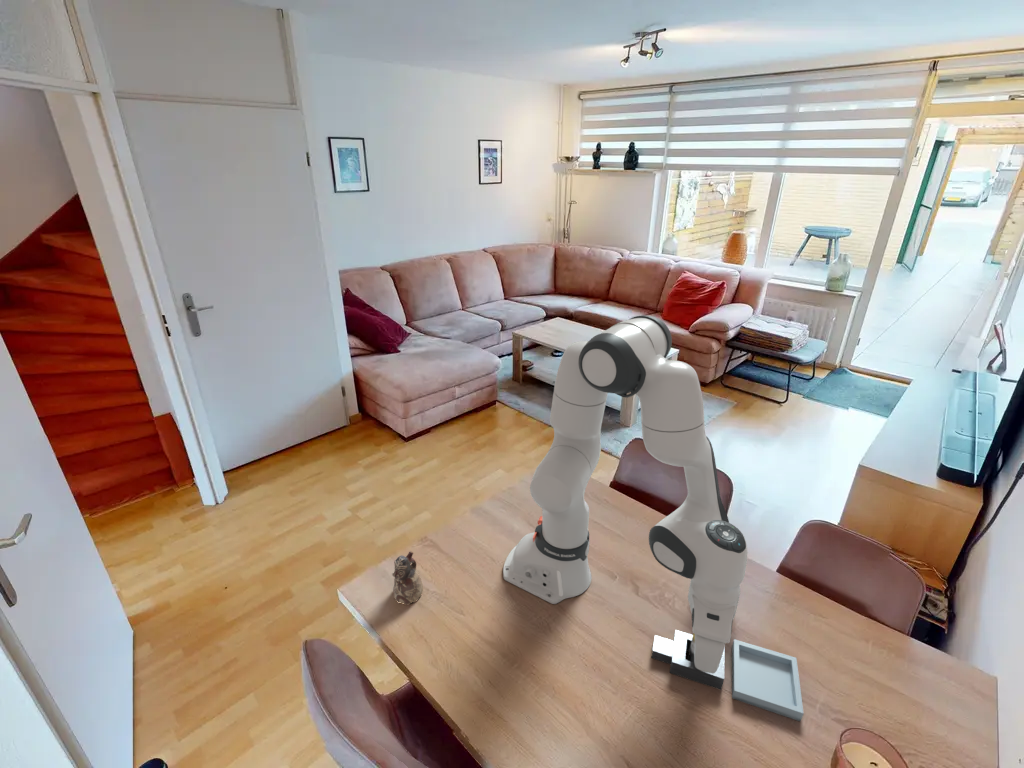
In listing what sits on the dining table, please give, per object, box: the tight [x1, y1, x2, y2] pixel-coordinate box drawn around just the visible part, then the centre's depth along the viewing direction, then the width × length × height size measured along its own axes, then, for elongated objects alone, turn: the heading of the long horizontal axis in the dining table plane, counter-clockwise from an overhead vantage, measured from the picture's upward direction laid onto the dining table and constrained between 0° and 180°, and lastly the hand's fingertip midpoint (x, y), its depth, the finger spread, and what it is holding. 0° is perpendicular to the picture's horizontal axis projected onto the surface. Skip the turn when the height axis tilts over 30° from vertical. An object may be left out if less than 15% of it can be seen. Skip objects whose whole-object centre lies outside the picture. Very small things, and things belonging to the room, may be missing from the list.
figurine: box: [391, 550, 424, 604], centre depth 119 cm, size 7×7×12 cm
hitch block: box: [651, 629, 726, 691], centre depth 104 cm, size 14×8×4 cm, turn 68°
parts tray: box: [731, 638, 804, 722], centre depth 100 cm, size 12×12×2 cm
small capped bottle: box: [687, 632, 695, 662], centre depth 102 cm, size 4×4×9 cm
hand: (702, 645), depth 101 cm, fingers open, 8 cm apart
